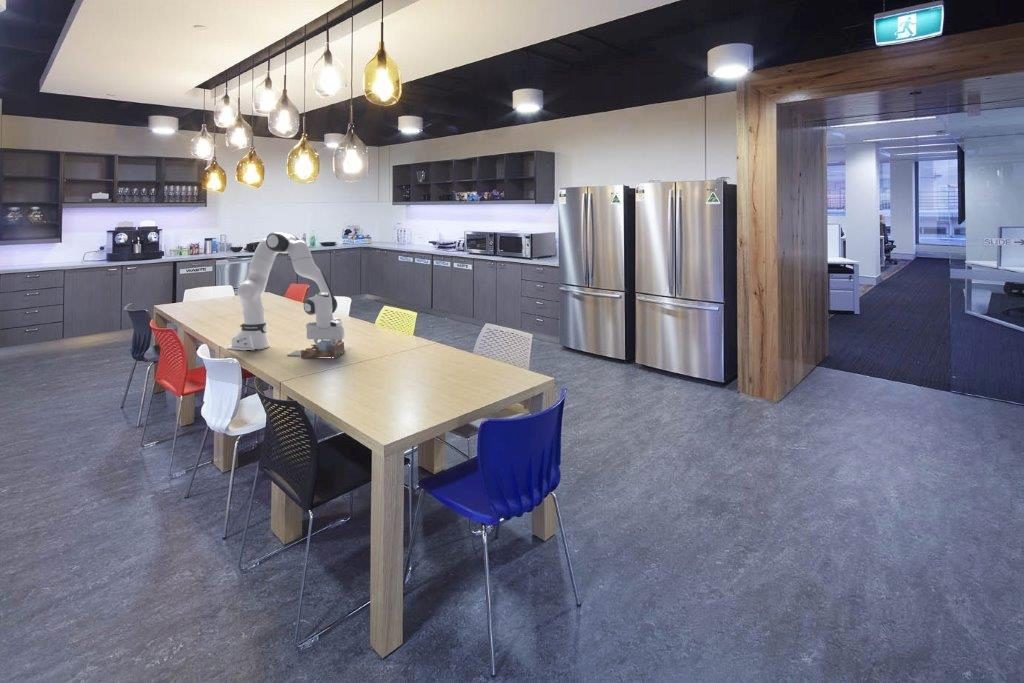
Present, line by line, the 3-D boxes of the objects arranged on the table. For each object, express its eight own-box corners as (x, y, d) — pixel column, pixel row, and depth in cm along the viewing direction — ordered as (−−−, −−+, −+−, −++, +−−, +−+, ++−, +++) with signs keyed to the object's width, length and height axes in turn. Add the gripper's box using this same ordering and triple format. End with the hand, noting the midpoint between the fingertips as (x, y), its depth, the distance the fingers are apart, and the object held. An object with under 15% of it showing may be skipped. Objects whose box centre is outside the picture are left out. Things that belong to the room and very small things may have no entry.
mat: (287, 356, 317) (287, 355, 317) (296, 351, 328) (296, 350, 327) (299, 356, 316) (299, 355, 316) (308, 351, 327) (308, 350, 327)
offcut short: (305, 352, 318) (305, 348, 318) (308, 349, 324) (307, 345, 324) (311, 351, 319) (311, 348, 318) (313, 349, 324) (313, 345, 324)
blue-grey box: (319, 357, 316) (318, 342, 315) (326, 352, 326) (325, 338, 324) (326, 357, 316) (325, 342, 314) (333, 353, 326) (332, 339, 324)
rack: (301, 357, 314) (300, 346, 313) (312, 351, 329) (311, 340, 328) (334, 358, 313) (334, 347, 312) (344, 352, 328) (343, 341, 326)
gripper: (303, 323, 315) (305, 348, 318) (340, 324, 314) (342, 349, 317) (308, 321, 321) (310, 345, 324) (344, 321, 320) (346, 346, 323)
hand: (326, 347), depth 320 cm, fingers open, 8 cm apart
